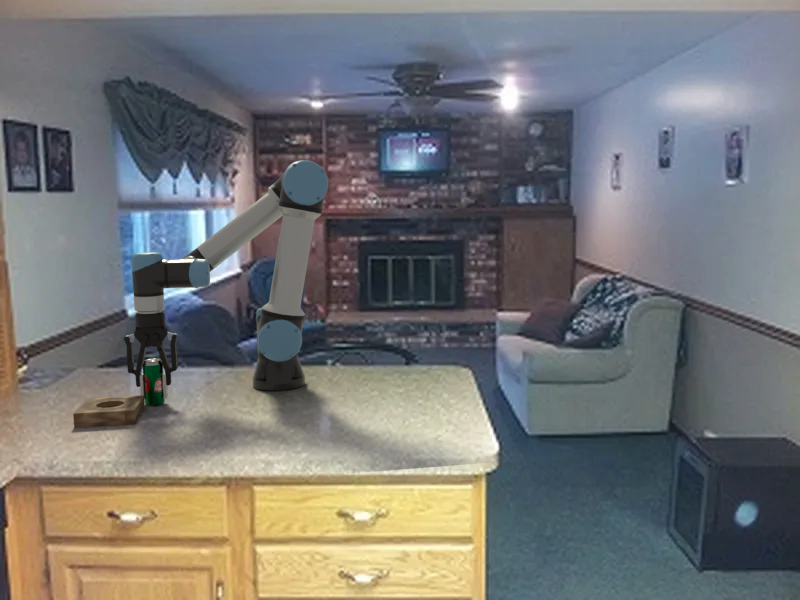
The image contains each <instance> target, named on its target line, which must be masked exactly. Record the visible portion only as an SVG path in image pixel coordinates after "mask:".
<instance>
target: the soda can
mask: <svg viewBox="0 0 800 600" xmlns="http://www.w3.org/2000/svg"><path fill="white" fill-rule="evenodd" d="M142 373H143V379H144V396H145V399H144V404H145V406H149V407H155V406H156V407H158V406H161V405H163V404H164V403H165V401H166V398H164V394H163V376H162V374H163V373H164V367H163V364H162V361H161V358H159V357H158V358H154V357H153V358H146V359H144V361H143V366H142Z"/></svg>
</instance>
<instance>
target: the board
mask: <svg viewBox="0 0 800 600" xmlns="http://www.w3.org/2000/svg"><path fill="white" fill-rule="evenodd" d="M145 406H146V404H145V399H144V395H143V396H141V395H129V396H127V395H126V396H112V397H111V396H109V397H93V398H92V397H91V398H90V397H89V398H86V399H85V400H84V401H83V402H82V403H81V404H80V406H78V408H77V409H76V410H75V411H74V412H73V413H72V415H73V416H72V417H73V428H74V429H76V428H77V429H78V428H93V427H109V426H125V425H126V426H127V425H128V426H129V425H136V424H137V423H138V421H139V420H140V418H141V416H142V413H143V412H144V411H145Z"/></svg>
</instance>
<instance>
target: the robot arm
mask: <svg viewBox="0 0 800 600" xmlns="http://www.w3.org/2000/svg"><path fill="white" fill-rule="evenodd" d="M328 189H329V178H328V175H327V173H326V171H325V170H324V168H323V167H322V166H321V165H320V164H318V163H316V162H315V161H312V160H309V159H308V160H306V159H300V160H299V159H298V160H296V161H294V162H292V163H291V164H289V165H288V166H287V167H286V169H285V170H284V172H283V174H282V175H281V176H280V177H279V178H278V179H277V180H276V181H275V182H274V183H273V184H271V185H270V186H269V187H268V188H267V192H266V194H264V195H263V196H262V197H260V198H259V199H258V200H257V201H255V202H253V204H251V205H250V206H249V207H247V208H246V209H245V210H244V211H241V213H239V214H238V215H237V216H236V217H234V218H233V219H232V220H231V221H229V222H228V223H227V224H225V225H224V226H223V227H222V228H220V229H219V230H217V231H216V232H215V233H213V234H212V235H211V236H210V237H209V238H207V239H206V240H205V241H203V242H202V243H201V244H200V245H198V246H197V247H195V249H193V250H192V251H190V252H189V253H188V254H186V255H185V256H184V257H182V258H180V259H163V256H162V255H163V254H162V253H161V252H152V251H151V252H149V251H148V252H137V253H134V254H133V255H132V257H131V258H132V260H131V274H132V290H133V306H134V311H135V314H134V322H135V323H134V324H135V329H134V332H133V333H131V334H127V335H125V336H124V337H123V341H124V342H125V345H126V359H127V361H126V364H127V373H128V374H132V375H135V386H136V387H137V388H140V396H143V395H144V379H143V363H144V360H145V357H146V351H147V348H150V347H153V348H154V347H155V348H156V350H157V352H158V355H159V359H161V362H162V364H163V374H162V376H163V394H164V398H165V399H167V398H168V397H169V391H168V389H169V388H168V386H171V385H172V373H174V372H175V371H177V370H178V367H179V365H178V364H179V363H178V352H177V340H178V337H179V336H178V333H177V332H174V333H173V332H170V331H168V329H167V327H166V313H165V311H164V310H165V308H166V307H165V296H164V295H165V292H164V289H185V288H186V289H188V288H189V289H190V288H194V289H198V288H206V287H209V286H210V283H211V272H212V271H213V270H214V269H216V268H217V267H218V266H219V265H221V264H222V263H223V262H225V261H226V260H227V259H228V258H229V257H231V256H233V255H234V254H235V253H236V252H237V251H239V250H240V249H242V248H243V247H244V246H246V245H247V244H248V243H249V242H251V241H252V240H253V239H255V238H256V237H257V236H258V235H260V234H261V233H262V232H263V231H264V230H266V229H267V228H269V227H270V226H272V224H274V223H275V222H276V221H278V220H279V219H280V218H282V219H281V224H280V225H281V226H280V231H279V232H280V233H279V237H278V243H277V250H276V256H275V261H274V262H275V263H274V268H273V274H272V279H271V280H272V281H271V287H270V293H269V298H268V299H269V300H268V302H267V303H265V304H264V305H262V307H260V308H257V310H256V315H255V321H256V345H257V361H256V366H255V370H254V373H253V376H252V387H253V388H254V389H257V390H260V391H261V390H262V391H270V392H271V391H287V390H292V389H298V388H301V387H303V386H304V385H306V378H305V377H306V376H305V373H304V370H303V367H302V365H301V362H300V359H299V351H300V350H301V348H302V345H303V335H302V333H303V327H304V319H305V315H306V314H305V312H304V311H303V309H302V307H301V305H302V299H303V293H304V288H305V287H304V286H305V281H306V275H307V268H308V263H309V256H310V252H311V251H310V250H311V245H312V241H313V240H312V238H313V232H314V228H315V223H316V222H315V221H316V219H318V218H319V217H321V216H322V213H323V207H324V201H325V197H326V195H327V193H328ZM166 337H167V339H168V341H169V343H170V359H171V365H170V363H169V359H168V356H167V353H166V351H165V347H164V343H163V342H164V340H165V339H166ZM135 339H136V340H137V341H138V342H139V344H140V348H139V354H138V359H137V362H136V367H135V360H134V359H135V358H134V342H135ZM144 400H145V396H144Z"/></svg>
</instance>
